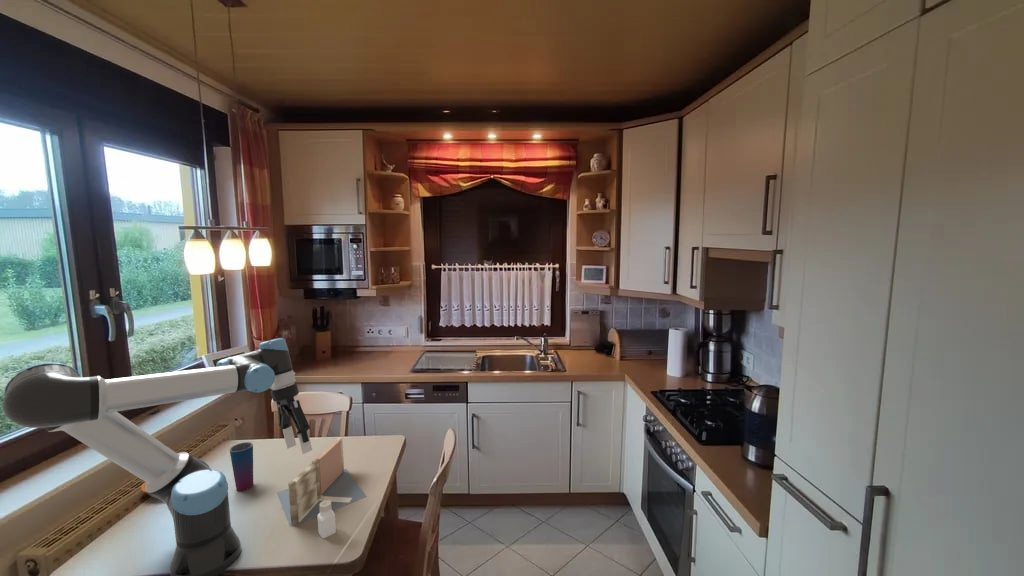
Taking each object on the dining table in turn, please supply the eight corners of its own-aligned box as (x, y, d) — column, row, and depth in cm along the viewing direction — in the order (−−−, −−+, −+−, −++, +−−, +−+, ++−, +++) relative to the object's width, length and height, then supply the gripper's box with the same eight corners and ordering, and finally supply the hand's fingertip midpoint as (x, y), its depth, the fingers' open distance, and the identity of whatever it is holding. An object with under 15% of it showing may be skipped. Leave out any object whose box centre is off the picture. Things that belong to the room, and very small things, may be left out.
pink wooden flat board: (322, 494, 137) (320, 459, 136) (317, 494, 137) (315, 458, 136) (345, 470, 152) (343, 437, 150) (340, 469, 152) (338, 437, 151)
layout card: (290, 528, 122) (290, 526, 122) (276, 493, 139) (276, 492, 139) (366, 497, 137) (366, 496, 137) (346, 469, 154) (346, 468, 154)
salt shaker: (331, 526, 123) (329, 497, 122) (336, 533, 120) (334, 503, 119) (317, 533, 120) (315, 503, 119) (322, 540, 117) (320, 509, 116)
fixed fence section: (316, 496, 137) (314, 459, 136) (322, 496, 137) (319, 460, 135) (289, 525, 123) (286, 484, 122) (296, 525, 123) (292, 485, 122)
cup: (230, 487, 143) (227, 447, 141) (253, 479, 148) (249, 439, 146) (236, 495, 139) (232, 453, 137) (258, 486, 143) (255, 446, 142)
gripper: (310, 382, 126) (326, 448, 127) (282, 381, 143) (297, 439, 144) (284, 391, 121) (302, 460, 121) (258, 389, 137) (274, 449, 138)
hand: (299, 449), depth 133 cm, fingers open, 13 cm apart
